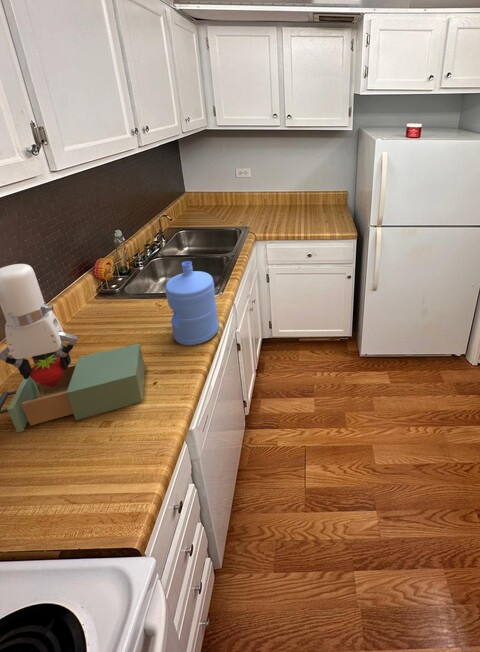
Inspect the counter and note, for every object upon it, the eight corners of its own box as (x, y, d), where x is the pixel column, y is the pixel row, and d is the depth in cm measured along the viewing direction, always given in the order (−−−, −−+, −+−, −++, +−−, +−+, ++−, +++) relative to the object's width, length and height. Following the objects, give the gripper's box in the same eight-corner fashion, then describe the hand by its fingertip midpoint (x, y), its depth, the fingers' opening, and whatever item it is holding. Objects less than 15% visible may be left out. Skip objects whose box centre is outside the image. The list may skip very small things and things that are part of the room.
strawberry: (43, 379, 90) (32, 350, 86) (74, 375, 91) (64, 346, 88) (31, 397, 85) (18, 366, 81) (64, 392, 86) (53, 362, 82)
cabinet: (75, 420, 87) (66, 393, 83) (86, 382, 98) (78, 356, 95) (142, 401, 92) (135, 375, 89) (145, 367, 104) (139, 343, 100)
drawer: (-8, 439, 80) (-20, 416, 78) (12, 399, 91) (3, 378, 88) (85, 413, 88) (78, 391, 85) (94, 379, 98) (88, 358, 95)
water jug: (224, 319, 127) (217, 253, 117) (211, 347, 113) (202, 275, 103) (184, 318, 128) (173, 252, 117) (165, 346, 113) (152, 274, 103)
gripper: (73, 298, 86) (90, 352, 92) (-12, 313, 80) (11, 370, 86) (66, 314, 80) (84, 371, 86) (-28, 332, 73) (-1, 392, 80)
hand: (47, 370), depth 86 cm, fingers closed on strawberry, 7 cm apart
